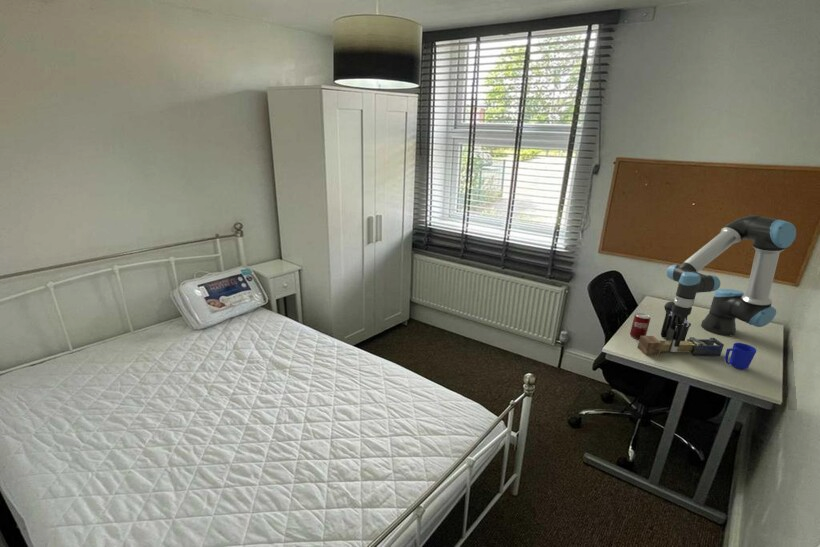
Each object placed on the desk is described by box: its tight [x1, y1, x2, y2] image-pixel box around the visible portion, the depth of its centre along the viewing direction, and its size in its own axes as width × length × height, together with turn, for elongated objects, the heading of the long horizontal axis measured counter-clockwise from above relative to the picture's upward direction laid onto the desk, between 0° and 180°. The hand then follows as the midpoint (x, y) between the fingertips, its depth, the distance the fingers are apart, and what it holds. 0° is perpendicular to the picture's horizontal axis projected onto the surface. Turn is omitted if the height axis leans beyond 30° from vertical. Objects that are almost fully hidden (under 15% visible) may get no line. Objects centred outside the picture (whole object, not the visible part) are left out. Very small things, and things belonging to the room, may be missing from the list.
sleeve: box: [686, 336, 725, 357], centre depth 193 cm, size 13×7×6 cm, turn 91°
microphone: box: [660, 300, 674, 339], centre depth 204 cm, size 7×7×20 cm
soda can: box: [629, 312, 651, 340], centre depth 205 cm, size 7×7×12 cm
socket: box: [637, 335, 662, 356], centre depth 192 cm, size 6×7×7 cm
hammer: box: [659, 326, 706, 353], centre depth 191 cm, size 24×4×11 cm, turn 91°
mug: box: [724, 342, 757, 370], centre depth 181 cm, size 8×12×10 cm
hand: (670, 348), depth 193 cm, fingers closed on hammer, 4 cm apart
